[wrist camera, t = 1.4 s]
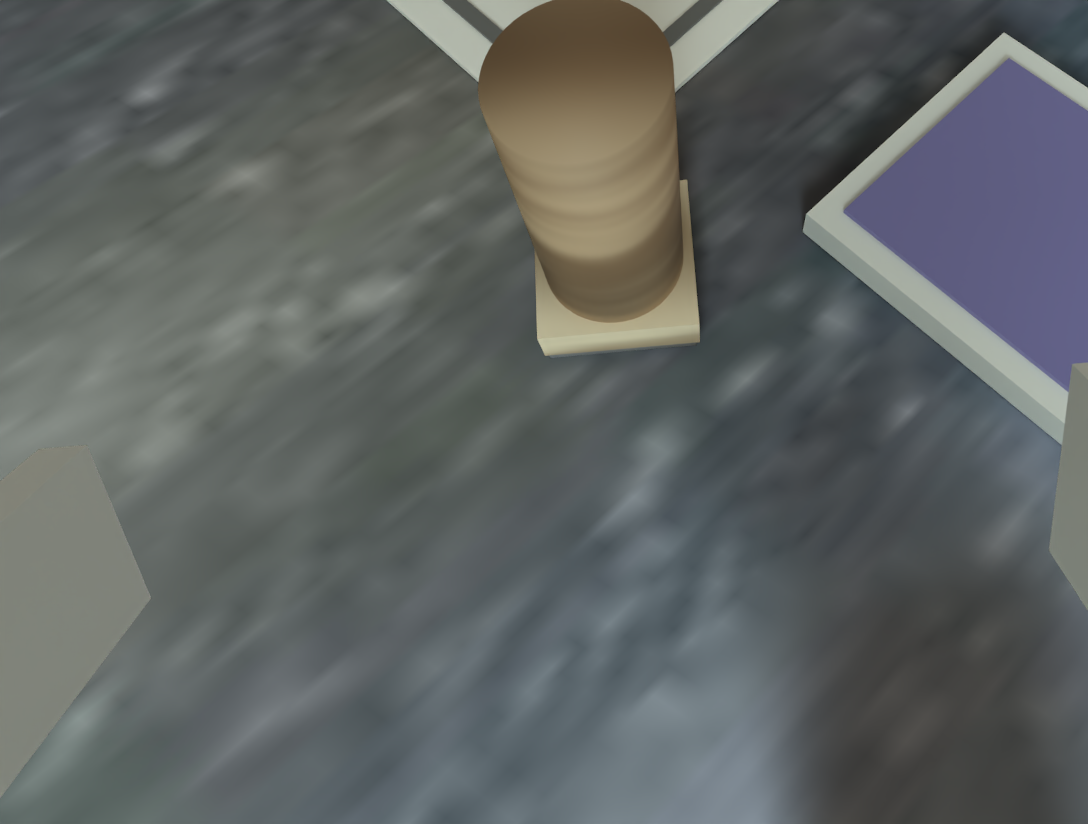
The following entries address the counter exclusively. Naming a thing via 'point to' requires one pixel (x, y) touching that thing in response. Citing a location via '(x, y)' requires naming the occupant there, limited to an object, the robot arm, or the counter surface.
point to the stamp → (595, 174)
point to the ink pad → (981, 225)
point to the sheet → (494, 3)
